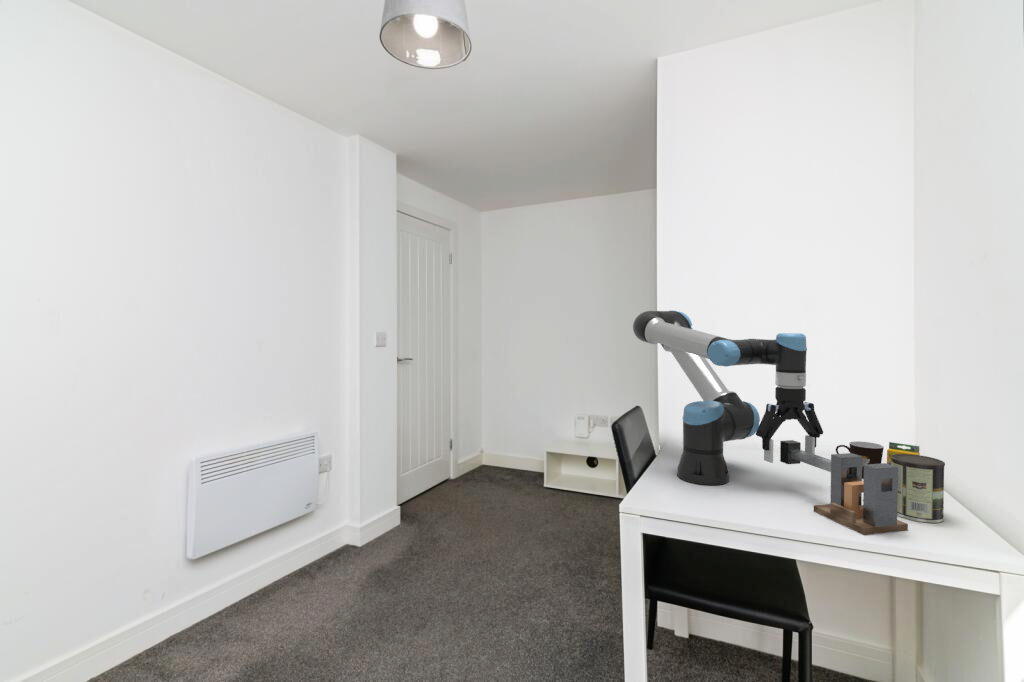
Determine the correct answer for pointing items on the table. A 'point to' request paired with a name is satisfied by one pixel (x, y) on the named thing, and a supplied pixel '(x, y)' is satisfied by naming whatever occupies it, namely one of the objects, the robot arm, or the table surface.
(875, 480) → the bearing blocks
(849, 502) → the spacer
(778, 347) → the robot arm
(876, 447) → the coffee mug
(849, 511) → the tray
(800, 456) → the shaft
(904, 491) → the coffee can
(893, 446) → the crayon box
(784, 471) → the table surface
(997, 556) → the table surface
